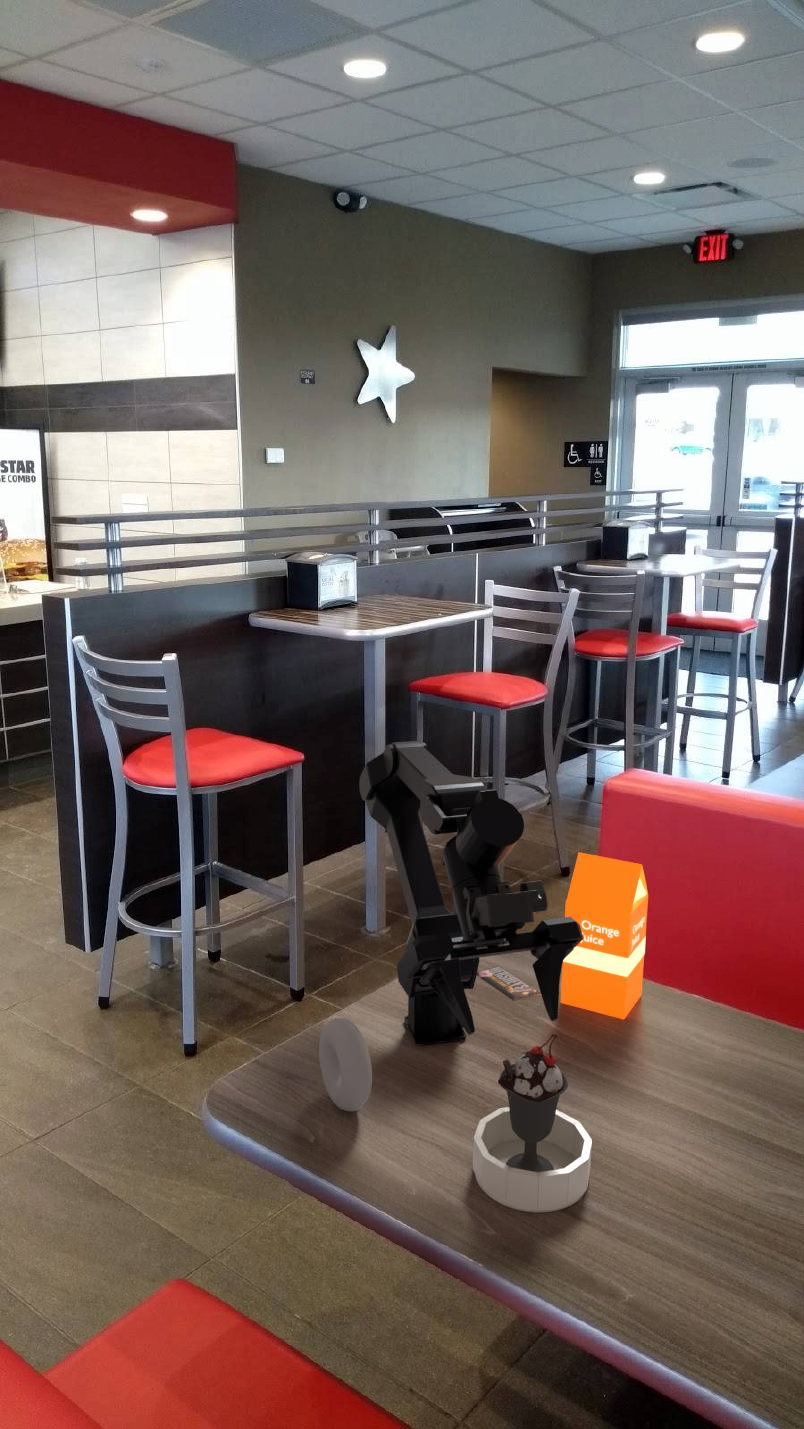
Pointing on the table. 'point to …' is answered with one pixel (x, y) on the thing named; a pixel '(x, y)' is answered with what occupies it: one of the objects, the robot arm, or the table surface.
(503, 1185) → the white faceted bowl
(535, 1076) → the sundae
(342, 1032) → the donut
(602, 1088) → the table surface
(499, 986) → the chocolate bar
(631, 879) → the orange juice
